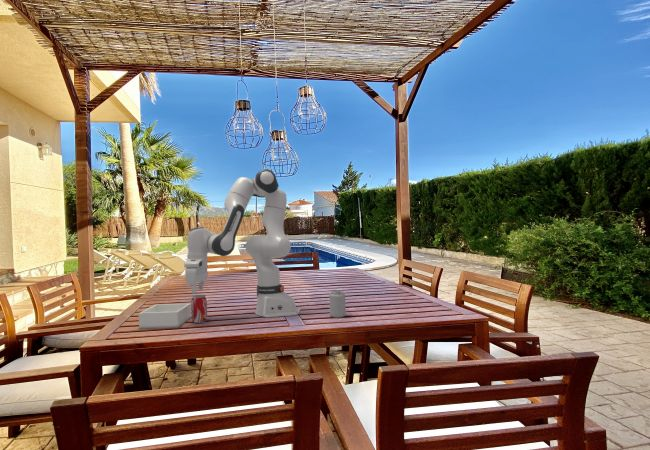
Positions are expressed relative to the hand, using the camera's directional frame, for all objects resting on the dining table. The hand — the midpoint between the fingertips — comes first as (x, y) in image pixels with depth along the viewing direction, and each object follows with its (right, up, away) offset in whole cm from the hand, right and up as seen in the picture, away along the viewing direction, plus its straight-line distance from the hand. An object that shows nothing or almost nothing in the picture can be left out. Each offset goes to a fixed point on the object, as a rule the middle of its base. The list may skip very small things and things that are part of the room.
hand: (197, 291), depth 175 cm
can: (+66, -13, +5) cm, 67 cm away
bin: (-14, -15, -1) cm, 20 cm away
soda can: (+1, -14, +1) cm, 14 cm away
